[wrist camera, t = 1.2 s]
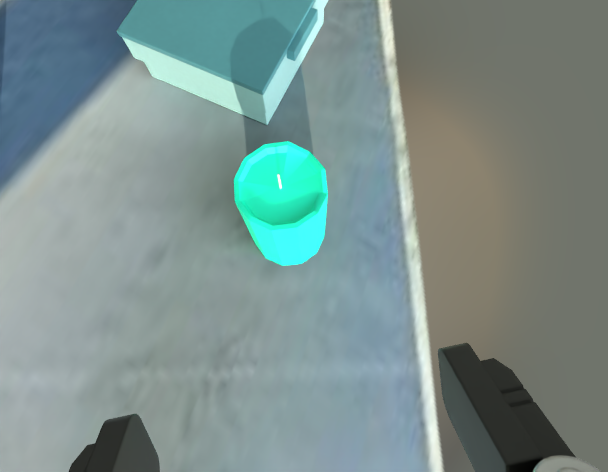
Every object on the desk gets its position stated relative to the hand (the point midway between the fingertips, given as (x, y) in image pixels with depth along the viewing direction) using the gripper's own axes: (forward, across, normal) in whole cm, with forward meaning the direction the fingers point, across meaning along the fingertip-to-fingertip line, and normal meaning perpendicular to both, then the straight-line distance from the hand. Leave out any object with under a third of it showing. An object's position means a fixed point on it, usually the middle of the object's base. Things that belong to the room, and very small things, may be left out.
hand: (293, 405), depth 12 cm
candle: (+27, 0, +7) cm, 28 cm away
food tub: (+38, +1, -8) cm, 39 cm away
